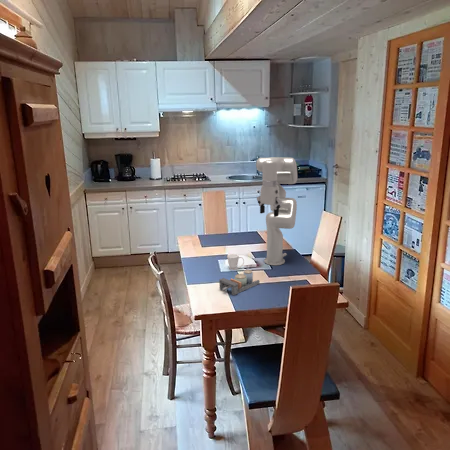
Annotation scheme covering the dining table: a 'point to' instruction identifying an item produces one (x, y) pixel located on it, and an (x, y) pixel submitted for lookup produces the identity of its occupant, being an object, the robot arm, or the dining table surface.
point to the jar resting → (241, 279)
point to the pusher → (235, 282)
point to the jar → (249, 276)
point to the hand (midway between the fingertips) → (269, 214)
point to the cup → (233, 261)
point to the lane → (236, 285)
